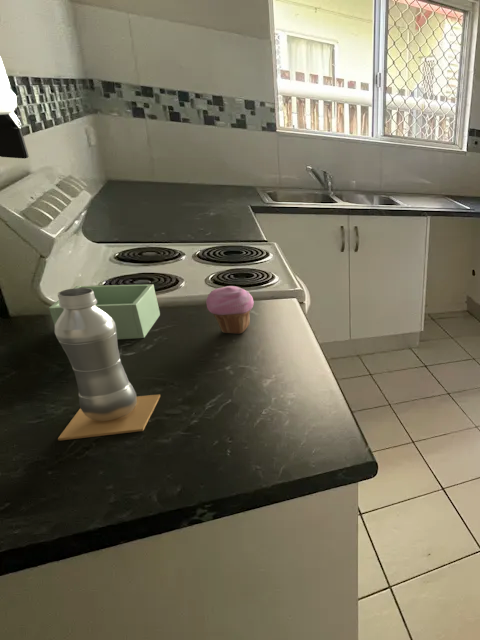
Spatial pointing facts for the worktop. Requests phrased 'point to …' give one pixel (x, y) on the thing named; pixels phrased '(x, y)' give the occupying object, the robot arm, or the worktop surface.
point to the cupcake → (230, 308)
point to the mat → (111, 421)
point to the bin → (123, 308)
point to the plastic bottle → (94, 356)
